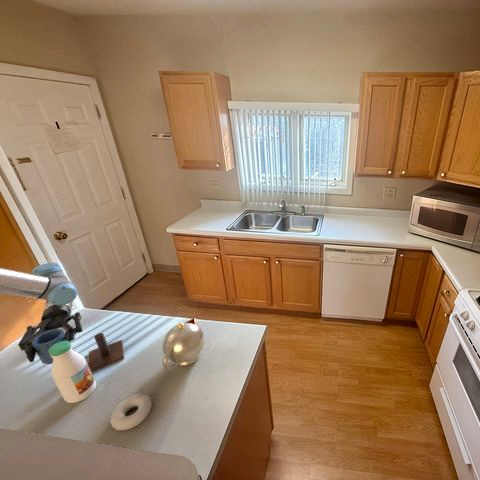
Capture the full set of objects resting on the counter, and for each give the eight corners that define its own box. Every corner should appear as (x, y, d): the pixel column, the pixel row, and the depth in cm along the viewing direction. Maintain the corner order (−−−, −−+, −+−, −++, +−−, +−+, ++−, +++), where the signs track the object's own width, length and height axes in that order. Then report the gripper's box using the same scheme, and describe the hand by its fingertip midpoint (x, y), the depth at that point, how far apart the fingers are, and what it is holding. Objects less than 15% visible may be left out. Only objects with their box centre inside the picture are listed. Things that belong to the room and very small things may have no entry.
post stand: (88, 372, 88) (79, 351, 84) (89, 353, 95) (81, 333, 91) (124, 358, 94) (117, 338, 90) (122, 341, 101) (115, 322, 97)
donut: (122, 441, 70) (159, 410, 78) (118, 433, 69) (156, 403, 76) (106, 419, 75) (142, 392, 83) (102, 412, 73) (140, 385, 81)
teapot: (183, 340, 103) (176, 307, 97) (214, 345, 102) (209, 312, 95) (150, 379, 87) (139, 343, 80) (187, 386, 86) (178, 350, 79)
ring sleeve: (36, 366, 81) (26, 348, 77) (48, 349, 87) (39, 331, 84) (65, 360, 83) (57, 342, 80) (75, 344, 89) (67, 326, 86)
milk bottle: (70, 409, 77) (45, 361, 69) (61, 395, 80) (36, 348, 72) (101, 389, 83) (81, 343, 75) (91, 377, 87) (71, 332, 79)
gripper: (95, 310, 103) (94, 346, 87) (22, 331, 91) (5, 378, 75) (89, 295, 100) (87, 329, 84) (13, 315, 88) (-7, 359, 72)
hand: (48, 352), depth 79 cm, fingers closed on ring sleeve, 7 cm apart
